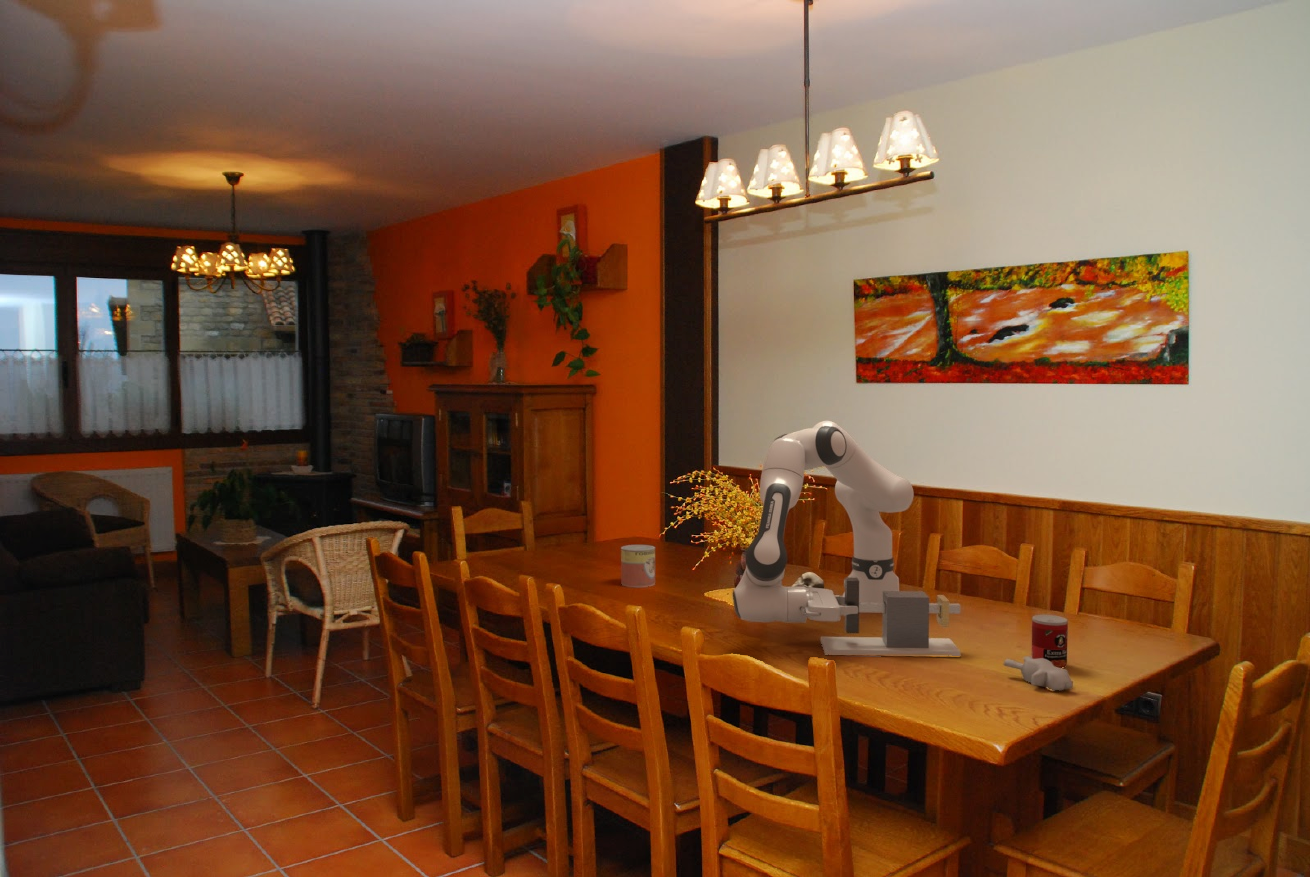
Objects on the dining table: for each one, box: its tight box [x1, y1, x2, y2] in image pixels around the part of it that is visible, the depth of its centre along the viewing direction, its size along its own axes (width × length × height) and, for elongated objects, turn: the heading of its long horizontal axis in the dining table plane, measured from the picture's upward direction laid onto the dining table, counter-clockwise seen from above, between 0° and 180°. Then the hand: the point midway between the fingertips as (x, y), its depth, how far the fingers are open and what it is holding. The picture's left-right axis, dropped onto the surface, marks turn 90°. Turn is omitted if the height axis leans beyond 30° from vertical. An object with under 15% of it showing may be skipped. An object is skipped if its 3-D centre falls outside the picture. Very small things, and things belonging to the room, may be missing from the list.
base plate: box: [820, 636, 962, 657], centre depth 243 cm, size 12×32×2 cm, turn 86°
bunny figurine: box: [1003, 655, 1074, 692], centre depth 216 cm, size 10×5×15 cm
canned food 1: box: [620, 544, 656, 588], centre depth 324 cm, size 11×11×12 cm
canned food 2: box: [1031, 614, 1069, 668], centre depth 229 cm, size 8×8×11 cm
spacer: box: [936, 594, 950, 628], centre depth 242 cm, size 6×2×6 cm, turn 176°
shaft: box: [844, 576, 962, 634], centre depth 242 cm, size 4×28×13 cm, turn 86°
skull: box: [791, 571, 825, 589], centre depth 303 cm, size 12×10×10 cm
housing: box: [881, 590, 930, 648], centre depth 242 cm, size 7×10×14 cm
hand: (855, 605), depth 243 cm, fingers open, 8 cm apart
